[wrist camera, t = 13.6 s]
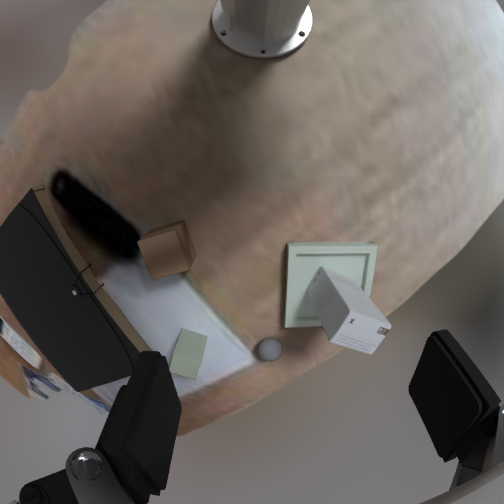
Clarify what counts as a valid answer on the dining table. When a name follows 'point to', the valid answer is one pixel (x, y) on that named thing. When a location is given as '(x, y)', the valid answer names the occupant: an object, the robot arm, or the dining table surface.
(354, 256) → the tray
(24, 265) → the file folder
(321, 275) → the skincare box
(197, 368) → the sage block
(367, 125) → the dining table surface
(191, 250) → the walnut cube
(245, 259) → the dining table surface
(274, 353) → the grey ball
